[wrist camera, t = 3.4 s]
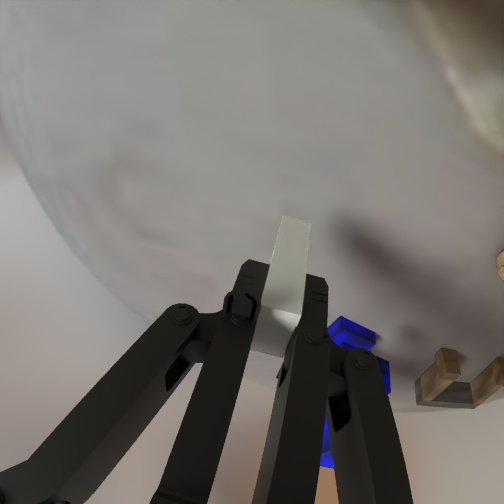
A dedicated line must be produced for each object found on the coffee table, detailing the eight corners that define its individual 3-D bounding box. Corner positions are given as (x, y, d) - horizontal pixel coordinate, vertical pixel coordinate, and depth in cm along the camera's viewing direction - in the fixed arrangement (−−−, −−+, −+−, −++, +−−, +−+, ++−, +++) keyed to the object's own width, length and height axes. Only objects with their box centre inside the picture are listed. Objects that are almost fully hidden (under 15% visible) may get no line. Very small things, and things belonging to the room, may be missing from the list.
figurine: (386, 354, 28) (388, 469, 18) (312, 362, 30) (297, 472, 21) (383, 301, 24) (392, 441, 14) (295, 312, 27) (271, 444, 17)
